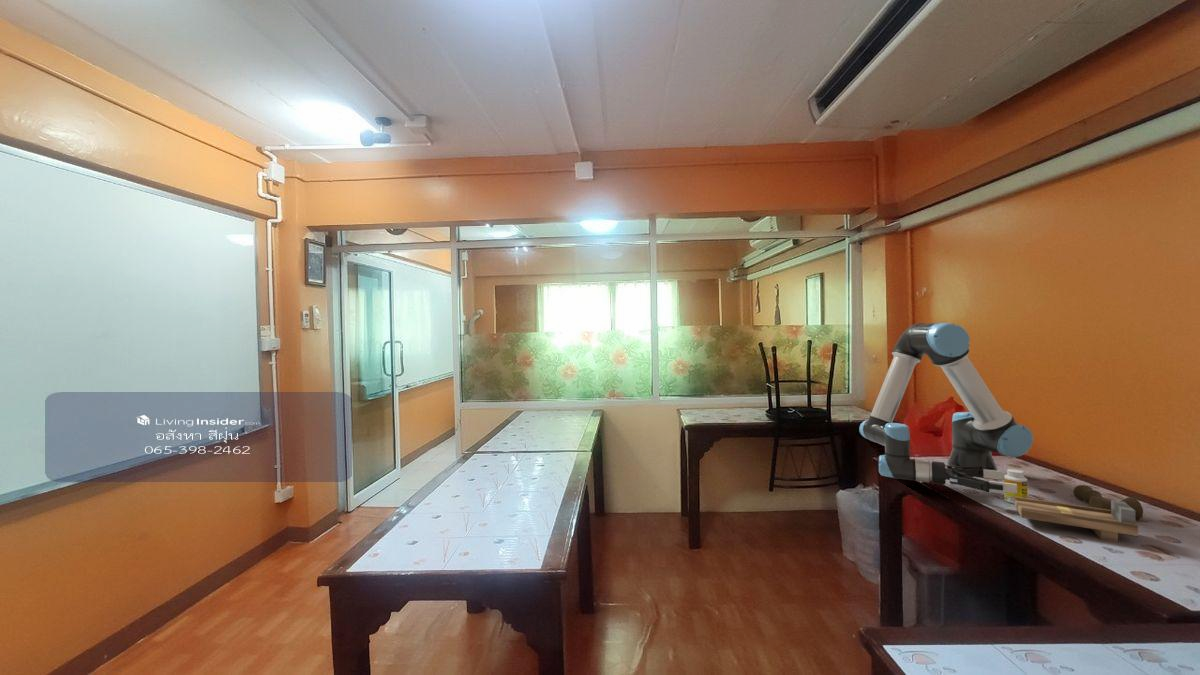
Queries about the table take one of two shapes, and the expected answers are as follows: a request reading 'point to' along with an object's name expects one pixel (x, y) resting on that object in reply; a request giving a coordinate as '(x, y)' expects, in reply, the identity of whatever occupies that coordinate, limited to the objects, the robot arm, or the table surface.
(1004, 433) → the robot arm
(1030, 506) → the wooden rack
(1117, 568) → the table surface
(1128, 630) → the table surface
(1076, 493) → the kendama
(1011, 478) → the supplement bottle
